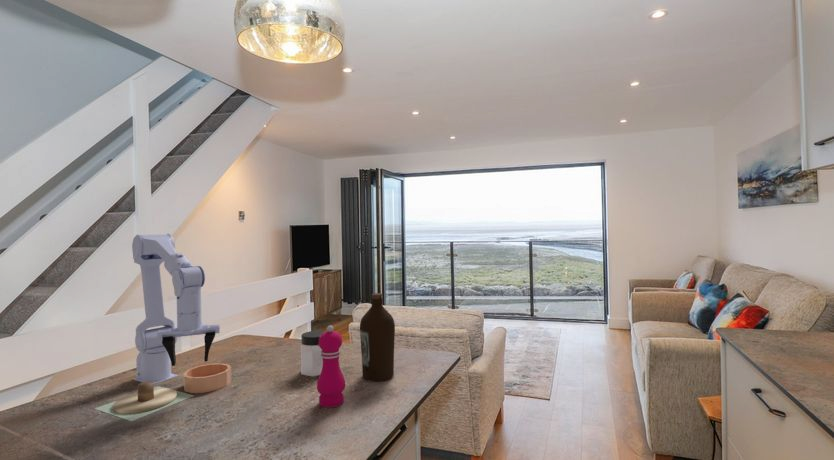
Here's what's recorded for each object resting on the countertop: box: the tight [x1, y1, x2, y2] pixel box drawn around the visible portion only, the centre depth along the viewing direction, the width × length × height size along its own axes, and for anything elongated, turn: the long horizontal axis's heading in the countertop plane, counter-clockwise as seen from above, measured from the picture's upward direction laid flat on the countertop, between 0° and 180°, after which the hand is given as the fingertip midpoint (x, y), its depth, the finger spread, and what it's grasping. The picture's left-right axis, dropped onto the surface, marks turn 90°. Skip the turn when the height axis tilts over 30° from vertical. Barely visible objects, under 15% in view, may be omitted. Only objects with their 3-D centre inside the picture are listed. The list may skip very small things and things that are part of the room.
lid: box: [113, 381, 177, 414], centre depth 108 cm, size 14×14×5 cm
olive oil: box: [359, 292, 396, 382], centre depth 125 cm, size 11×11×25 cm
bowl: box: [183, 362, 232, 394], centre depth 119 cm, size 12×12×4 cm
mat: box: [94, 385, 195, 422], centre depth 108 cm, size 16×16×1 cm
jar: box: [300, 330, 326, 378], centre depth 129 cm, size 9×8×12 cm
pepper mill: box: [316, 324, 346, 408], centre depth 107 cm, size 7×7×20 cm
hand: (190, 362), depth 111 cm, fingers open, 7 cm apart
